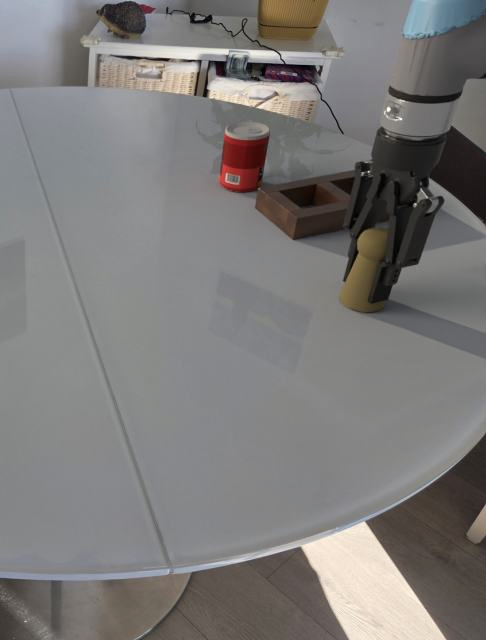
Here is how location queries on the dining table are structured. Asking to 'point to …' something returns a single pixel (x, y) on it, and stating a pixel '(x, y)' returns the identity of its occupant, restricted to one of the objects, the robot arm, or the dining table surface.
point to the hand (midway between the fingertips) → (364, 289)
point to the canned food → (244, 156)
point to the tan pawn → (365, 271)
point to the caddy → (319, 191)
